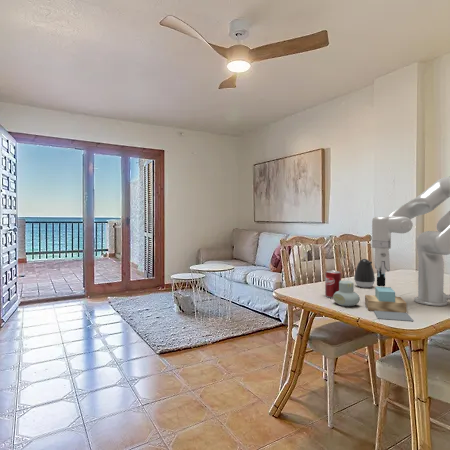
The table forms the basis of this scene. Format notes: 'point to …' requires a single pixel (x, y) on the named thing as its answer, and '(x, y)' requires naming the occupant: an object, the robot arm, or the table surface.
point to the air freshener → (346, 294)
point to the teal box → (385, 294)
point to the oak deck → (385, 304)
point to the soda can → (332, 282)
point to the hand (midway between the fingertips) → (380, 285)
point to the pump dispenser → (364, 274)
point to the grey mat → (393, 316)
